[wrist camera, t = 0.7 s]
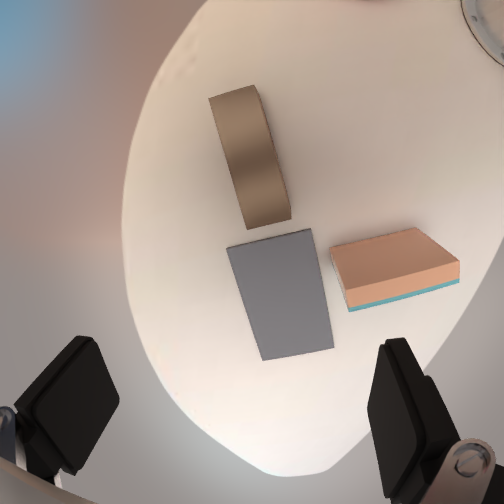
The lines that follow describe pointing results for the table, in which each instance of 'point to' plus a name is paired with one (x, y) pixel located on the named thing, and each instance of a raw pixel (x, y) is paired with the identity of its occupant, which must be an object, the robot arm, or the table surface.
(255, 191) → the block
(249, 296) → the mat
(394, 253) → the tile
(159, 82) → the table surface
